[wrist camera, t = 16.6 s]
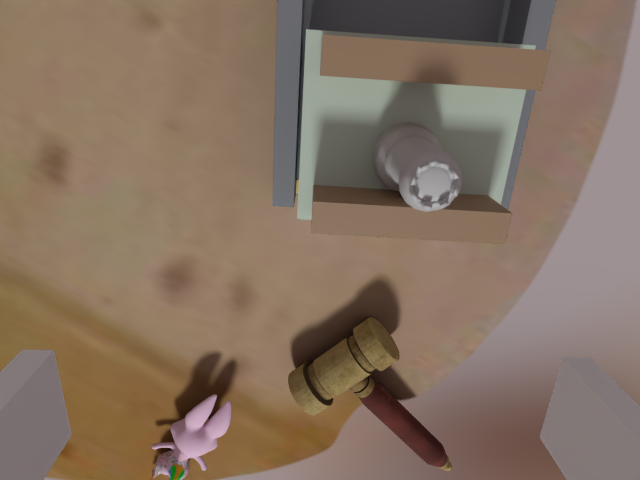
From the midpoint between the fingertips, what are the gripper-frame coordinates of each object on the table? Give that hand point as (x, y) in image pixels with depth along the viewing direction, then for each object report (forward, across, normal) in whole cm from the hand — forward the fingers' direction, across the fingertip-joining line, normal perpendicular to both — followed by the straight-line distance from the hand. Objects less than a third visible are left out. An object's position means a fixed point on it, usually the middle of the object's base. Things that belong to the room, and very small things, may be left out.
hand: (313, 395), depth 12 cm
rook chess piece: (+20, +6, +3) cm, 21 cm away
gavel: (+27, +10, -24) cm, 37 cm away
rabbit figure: (+28, -11, -28) cm, 41 cm away
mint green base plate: (+26, +7, +4) cm, 27 cm away
